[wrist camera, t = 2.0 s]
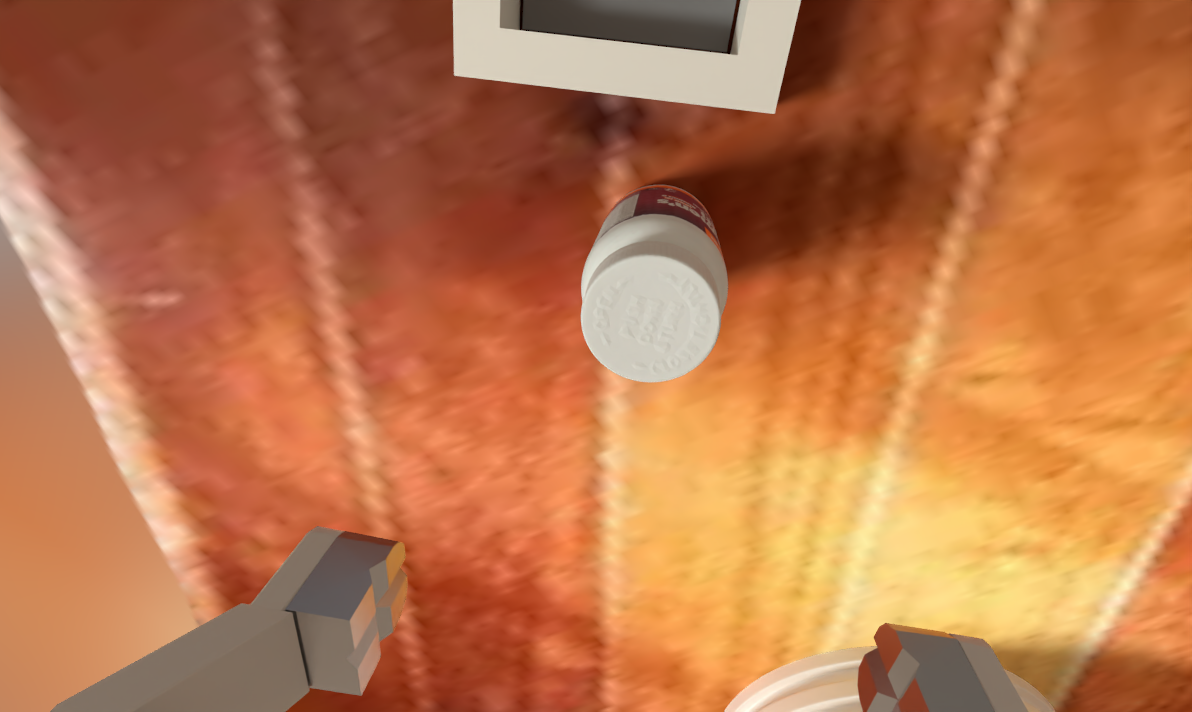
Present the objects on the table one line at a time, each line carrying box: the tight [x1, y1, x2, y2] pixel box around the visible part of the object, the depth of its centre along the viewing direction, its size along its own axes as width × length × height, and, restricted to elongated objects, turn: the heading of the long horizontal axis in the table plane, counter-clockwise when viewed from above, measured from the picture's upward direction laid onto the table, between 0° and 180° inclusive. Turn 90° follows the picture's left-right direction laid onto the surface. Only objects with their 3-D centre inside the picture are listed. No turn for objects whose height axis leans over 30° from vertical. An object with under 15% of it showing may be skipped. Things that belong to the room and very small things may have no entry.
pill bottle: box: [581, 185, 728, 382], centre depth 25 cm, size 6×6×11 cm
